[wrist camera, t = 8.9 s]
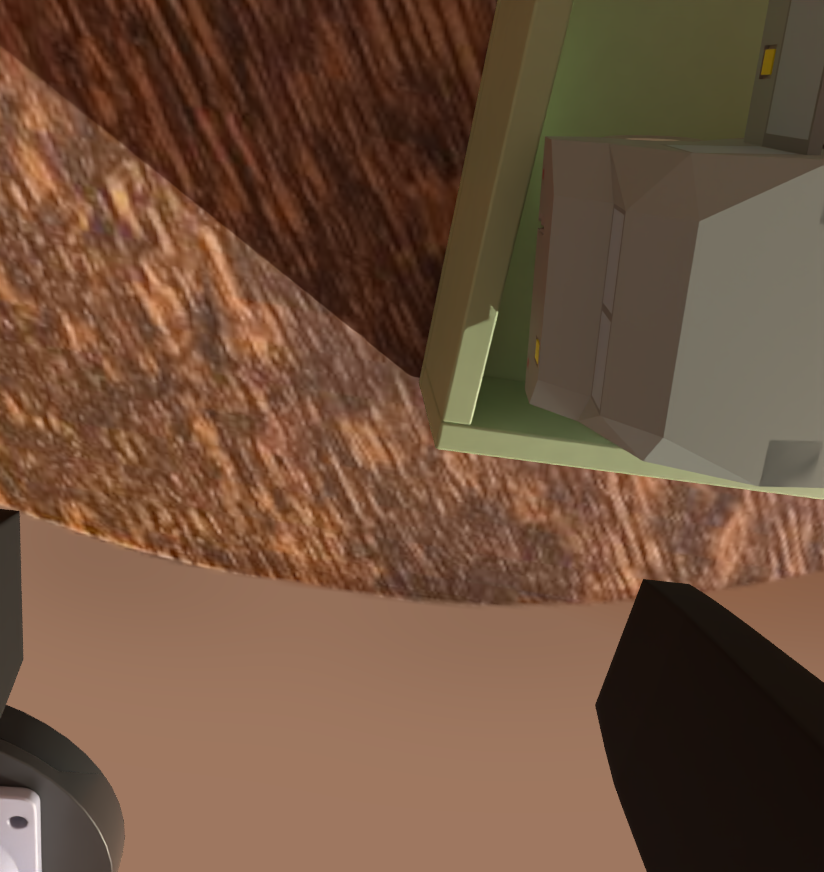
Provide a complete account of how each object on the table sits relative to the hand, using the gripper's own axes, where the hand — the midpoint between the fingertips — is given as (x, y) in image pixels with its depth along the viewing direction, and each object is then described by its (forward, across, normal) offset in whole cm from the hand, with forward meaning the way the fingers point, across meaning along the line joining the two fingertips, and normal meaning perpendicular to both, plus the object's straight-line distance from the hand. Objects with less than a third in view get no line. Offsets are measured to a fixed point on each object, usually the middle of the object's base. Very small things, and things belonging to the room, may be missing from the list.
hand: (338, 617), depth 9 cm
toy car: (+6, -8, -5) cm, 11 cm away
